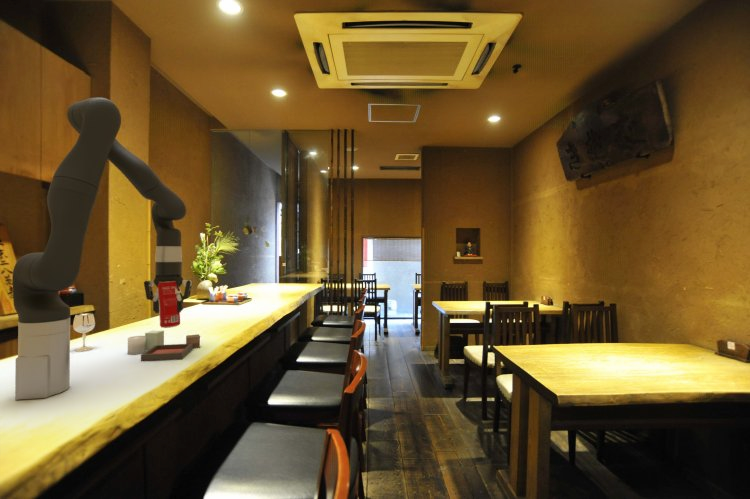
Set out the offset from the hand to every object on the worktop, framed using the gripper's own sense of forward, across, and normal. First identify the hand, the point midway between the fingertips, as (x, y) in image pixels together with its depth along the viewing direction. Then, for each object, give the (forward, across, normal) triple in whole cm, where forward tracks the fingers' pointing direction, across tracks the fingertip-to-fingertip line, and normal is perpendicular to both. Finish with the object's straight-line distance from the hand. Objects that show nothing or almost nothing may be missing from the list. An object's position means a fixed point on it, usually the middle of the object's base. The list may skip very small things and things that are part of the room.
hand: (168, 312), depth 118 cm
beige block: (+14, -11, +5) cm, 18 cm away
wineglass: (+14, -30, +12) cm, 35 cm away
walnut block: (+14, +5, +9) cm, 17 cm away
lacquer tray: (+14, 0, 0) cm, 14 cm away
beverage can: (+5, 0, 0) cm, 5 cm away
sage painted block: (+14, -7, +8) cm, 18 cm away
